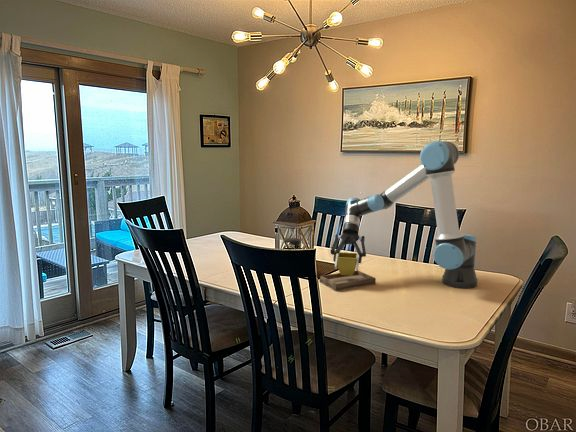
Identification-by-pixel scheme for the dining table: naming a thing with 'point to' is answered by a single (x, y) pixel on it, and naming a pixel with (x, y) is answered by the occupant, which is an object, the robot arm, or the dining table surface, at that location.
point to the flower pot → (347, 263)
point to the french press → (293, 241)
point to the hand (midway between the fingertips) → (346, 268)
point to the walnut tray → (347, 280)
